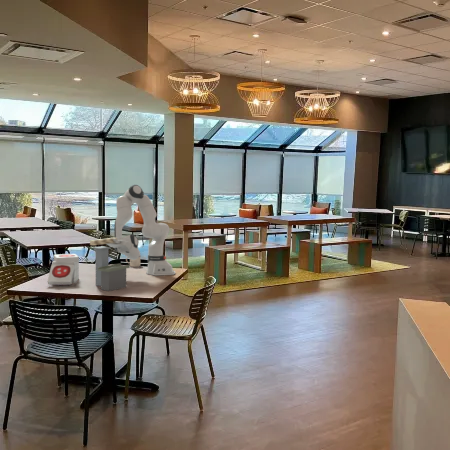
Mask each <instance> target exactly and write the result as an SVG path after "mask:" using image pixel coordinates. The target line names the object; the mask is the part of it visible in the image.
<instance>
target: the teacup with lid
mask: <svg viewBox="0 0 450 450" xmlns="http://www.w3.org/2000/svg"><path fill="white" fill-rule="evenodd" d="M125 262H126V263H128V264H129V265H130V268H131V267H132V268H139V267H141V255H140V256H139V258H137V259H136V260H132V259H129V261H128V257H125Z"/></svg>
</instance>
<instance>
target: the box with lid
mask: <svg viewBox="0 0 450 450" xmlns="http://www.w3.org/2000/svg"><path fill="white" fill-rule="evenodd" d="M130 268H131V266H130V264H126V265H123V264H122V263H114V264H108V266H103V267H98V271H101V286H100V290H101V291H106V292H111V291H115V290H119V289H124V288H127V269H130Z"/></svg>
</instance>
